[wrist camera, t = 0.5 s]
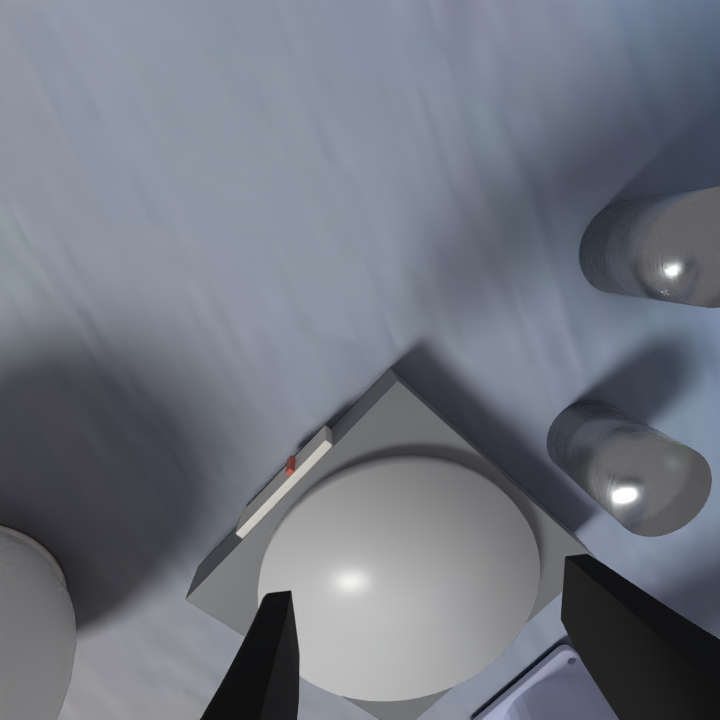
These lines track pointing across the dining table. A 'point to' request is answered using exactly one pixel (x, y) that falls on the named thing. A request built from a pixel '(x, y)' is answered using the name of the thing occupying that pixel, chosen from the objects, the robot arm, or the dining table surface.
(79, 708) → the dining table surface
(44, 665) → the lidded bowl
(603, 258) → the cylinder
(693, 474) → the cylinder
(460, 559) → the scale
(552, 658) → the robot arm
